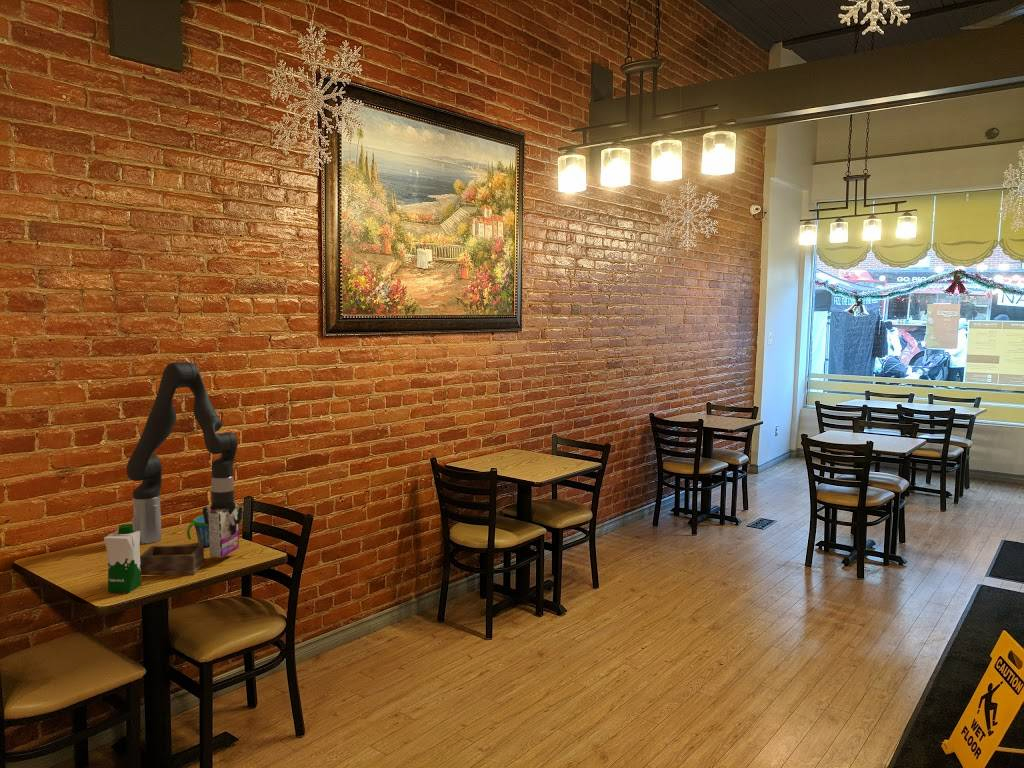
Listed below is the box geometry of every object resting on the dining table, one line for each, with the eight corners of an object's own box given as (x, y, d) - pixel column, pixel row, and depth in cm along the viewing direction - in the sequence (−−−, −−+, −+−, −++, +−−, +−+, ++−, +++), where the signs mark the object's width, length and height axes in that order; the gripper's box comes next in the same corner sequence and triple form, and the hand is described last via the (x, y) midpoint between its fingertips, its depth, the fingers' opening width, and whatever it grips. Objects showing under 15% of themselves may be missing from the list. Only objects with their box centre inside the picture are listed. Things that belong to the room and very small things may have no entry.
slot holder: (138, 576, 243) (137, 557, 242) (151, 563, 255) (151, 545, 254) (194, 574, 245) (193, 555, 244) (205, 562, 257) (204, 544, 256)
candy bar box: (227, 546, 266) (226, 503, 265) (239, 548, 265) (238, 504, 264) (208, 557, 256) (207, 511, 254) (221, 558, 255) (220, 512, 253)
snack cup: (191, 551, 268) (190, 524, 267) (184, 544, 276) (183, 518, 275) (234, 543, 277) (233, 517, 276) (226, 536, 286) (225, 511, 285)
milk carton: (145, 584, 237) (143, 524, 234) (129, 594, 228) (127, 532, 225) (119, 583, 237) (116, 523, 235) (102, 594, 228) (99, 531, 226)
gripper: (246, 486, 262) (247, 531, 264) (205, 486, 261) (206, 531, 263) (241, 491, 255) (241, 537, 257) (198, 491, 253) (199, 538, 255)
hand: (223, 534), depth 260 cm, fingers closed on candy bar box, 6 cm apart
